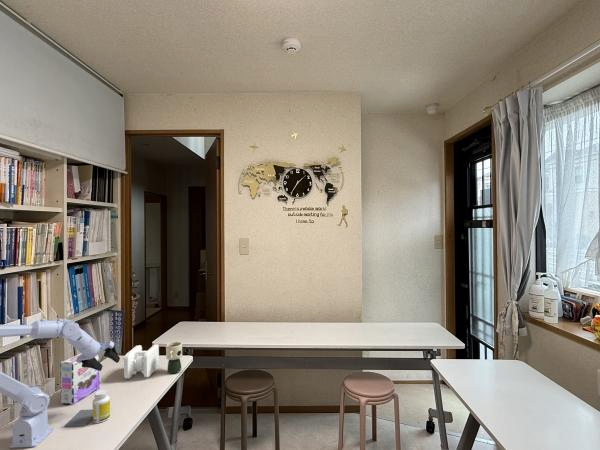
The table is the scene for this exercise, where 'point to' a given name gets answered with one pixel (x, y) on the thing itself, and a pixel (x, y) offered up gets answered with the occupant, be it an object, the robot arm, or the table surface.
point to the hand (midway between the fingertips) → (109, 364)
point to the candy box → (77, 380)
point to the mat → (81, 418)
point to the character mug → (174, 356)
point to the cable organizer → (141, 361)
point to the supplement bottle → (101, 406)
